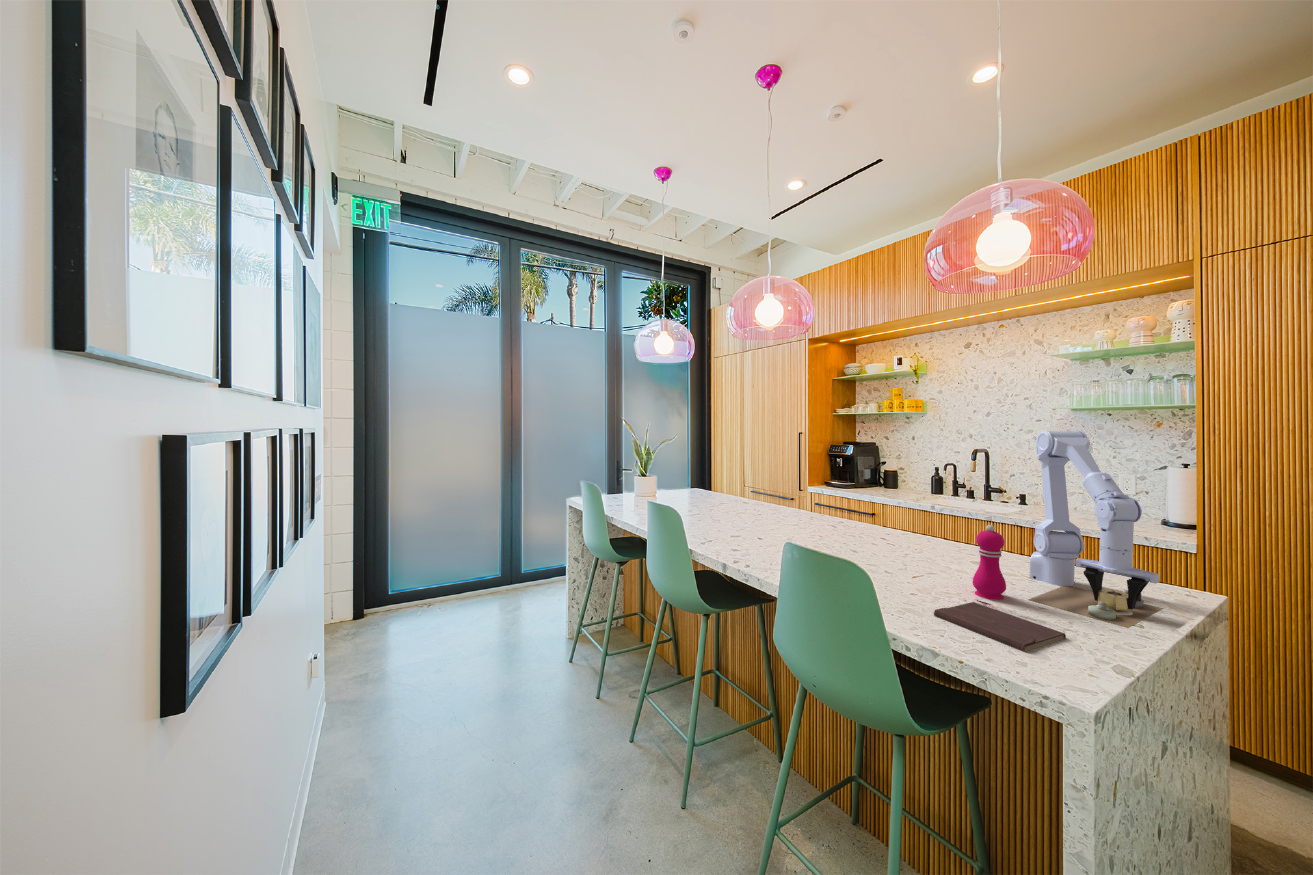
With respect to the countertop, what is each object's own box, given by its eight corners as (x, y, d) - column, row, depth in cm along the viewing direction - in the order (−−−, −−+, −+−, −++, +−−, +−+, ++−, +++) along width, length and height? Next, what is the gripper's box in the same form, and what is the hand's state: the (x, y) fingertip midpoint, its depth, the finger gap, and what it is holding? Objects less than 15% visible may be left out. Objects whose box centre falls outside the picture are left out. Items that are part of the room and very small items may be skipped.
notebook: (974, 607, 122) (974, 599, 122) (1065, 640, 104) (1066, 631, 104) (933, 617, 116) (933, 609, 116) (1023, 654, 98) (1023, 644, 98)
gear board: (1027, 605, 122) (1027, 583, 122) (1066, 590, 133) (1066, 569, 133) (1127, 634, 106) (1128, 608, 105) (1163, 614, 116) (1163, 591, 116)
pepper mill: (1011, 607, 121) (1013, 528, 120) (979, 605, 123) (981, 527, 122) (997, 596, 128) (999, 522, 127) (967, 594, 130) (968, 521, 129)
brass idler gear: (1094, 604, 116) (1095, 591, 116) (1104, 599, 119) (1104, 588, 119) (1124, 611, 112) (1125, 599, 112) (1133, 607, 114) (1134, 594, 114)
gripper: (1070, 543, 119) (1069, 597, 120) (1152, 557, 107) (1149, 618, 107) (1083, 539, 123) (1081, 592, 123) (1163, 553, 110) (1161, 611, 111)
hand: (1114, 604), depth 115 cm, fingers closed on brass idler gear, 5 cm apart
